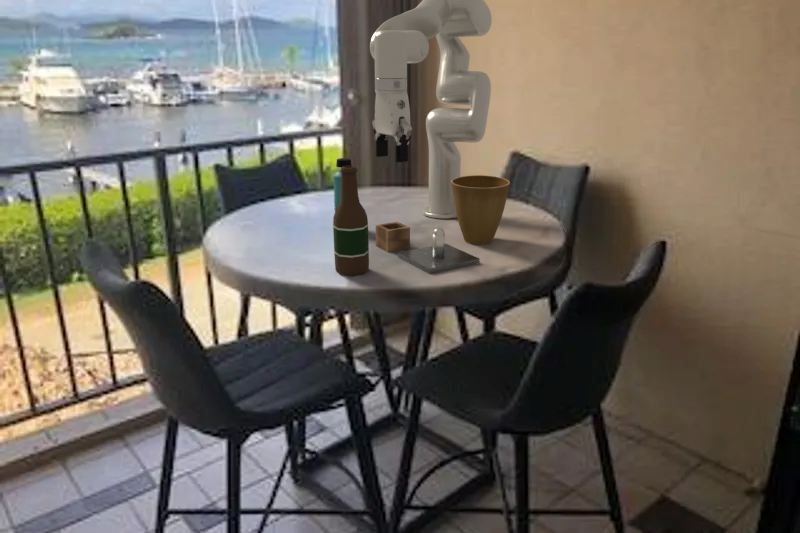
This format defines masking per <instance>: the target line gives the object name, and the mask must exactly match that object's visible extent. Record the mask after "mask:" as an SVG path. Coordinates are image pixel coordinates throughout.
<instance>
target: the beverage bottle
mask: <svg viewBox="0 0 800 533" xmlns="http://www.w3.org/2000/svg"><path fill="white" fill-rule="evenodd" d="M352 164H353V163H352V159H351V158H349V157H342V158H337V159H336V168H341V167H343V166H353V165H352ZM341 176H342V173H341V172H340V170H336V172H334V173H333V175H332V178H333V196H334V197H333V199H334V200H333V202H334V212H335V211H336V209H337V207H338V206H339V204H340V200H341Z"/></svg>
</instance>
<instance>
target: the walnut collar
mask: <svg viewBox="0 0 800 533" xmlns="http://www.w3.org/2000/svg"><path fill="white" fill-rule="evenodd" d="M375 247H378V248H379V249H381V250H383V251H385V252H387V253H391V252H392V253H393V252H396V251H402V250H407V249H411V227H410V226H408V225H405V224H403V223H401V222H399V221H393V222H387V223H382V224H381V223H380V224H375Z"/></svg>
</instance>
